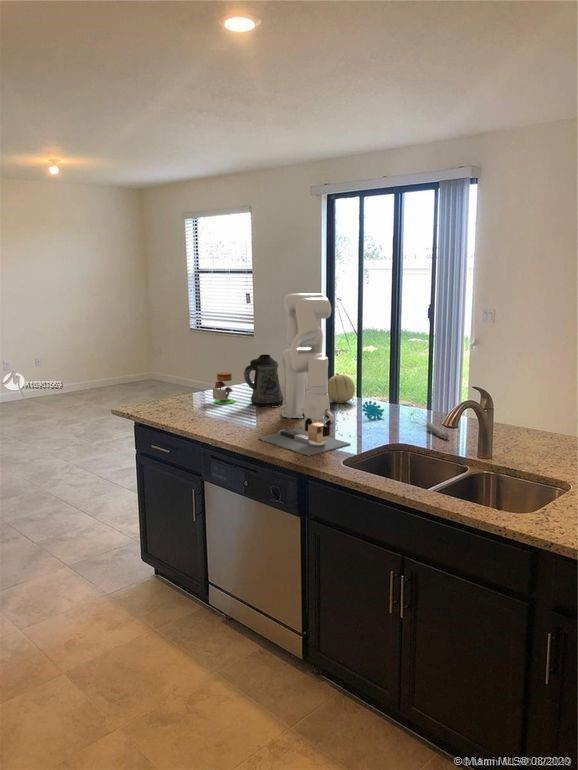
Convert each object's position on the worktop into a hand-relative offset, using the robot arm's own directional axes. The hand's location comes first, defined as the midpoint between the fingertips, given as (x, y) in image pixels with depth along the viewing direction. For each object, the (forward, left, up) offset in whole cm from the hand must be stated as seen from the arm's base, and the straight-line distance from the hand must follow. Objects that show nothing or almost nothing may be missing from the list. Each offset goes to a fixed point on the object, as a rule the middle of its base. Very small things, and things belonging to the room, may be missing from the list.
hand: (317, 433), depth 228 cm
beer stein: (-69, +30, -5) cm, 75 cm away
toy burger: (-88, +18, -5) cm, 90 cm away
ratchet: (-9, 0, -5) cm, 10 cm away
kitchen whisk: (+14, +52, -6) cm, 54 cm away
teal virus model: (-15, +49, -6) cm, 52 cm away
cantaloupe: (-47, +61, -5) cm, 77 cm away
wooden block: (0, 0, -3) cm, 3 cm away
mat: (-8, 0, -5) cm, 9 cm away
